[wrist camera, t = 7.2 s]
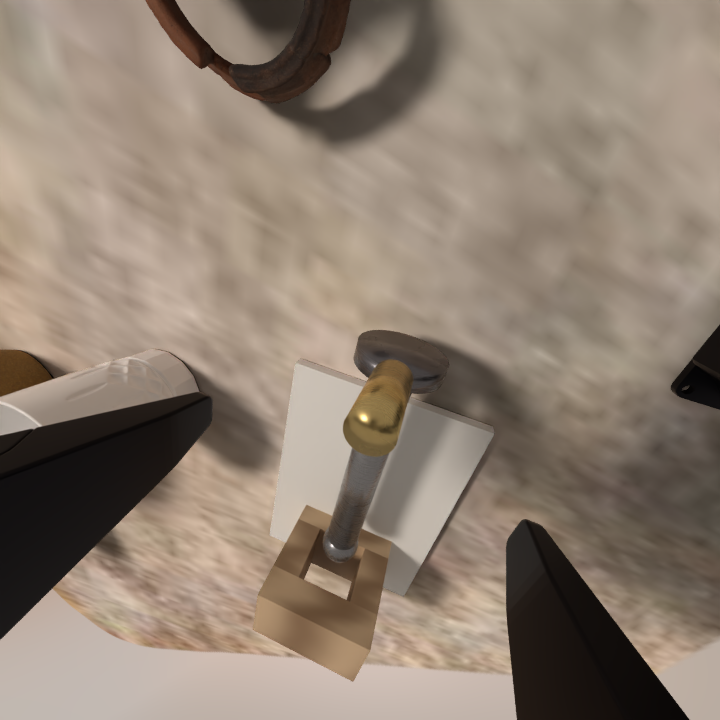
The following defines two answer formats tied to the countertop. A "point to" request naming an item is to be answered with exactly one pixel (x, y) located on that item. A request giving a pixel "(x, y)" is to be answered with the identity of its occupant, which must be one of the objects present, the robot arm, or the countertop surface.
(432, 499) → the mounting board
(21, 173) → the countertop surface
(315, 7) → the brown curved loop
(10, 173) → the countertop surface
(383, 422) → the hook rod
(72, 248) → the countertop surface
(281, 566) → the block
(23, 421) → the white cup
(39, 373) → the plant pot
